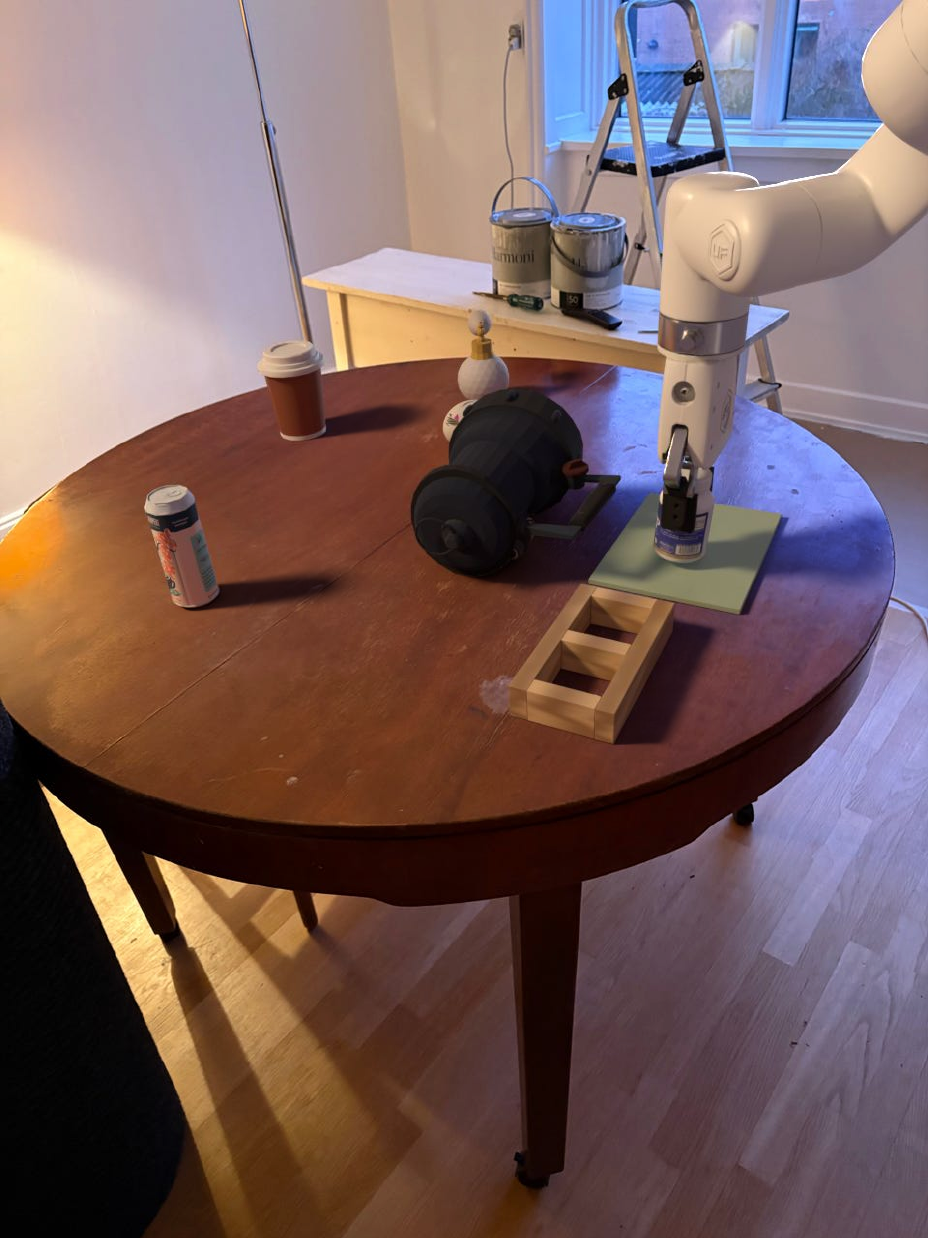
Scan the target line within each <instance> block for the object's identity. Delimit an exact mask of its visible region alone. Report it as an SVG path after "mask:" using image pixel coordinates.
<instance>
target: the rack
mask: <svg viewBox="0 0 928 1238" xmlns="http://www.w3.org/2000/svg"><path fill="white" fill-rule="evenodd" d="M675 605H676V603H675V602H673V601H668V600H663V599H658V598H654V597H649V596H644V595H639V594H635V593H630V592H625V591H620V590H615V589H610V588H606V587H601V586H596V585H591V584H585V583H580V584H579V585H578V587H577V588H576V590H575V591H574V592H573V594H572V596H571V597H570V598H569V600H568V601H567V602H566V604H565V605H564V607H563V608H562V609H561V610H560V613H558V615H557V617H556V618H555V619H554V621H553V622H552V624H551V625H550V626H549V628H548V629H547V630H546V632H545V633H544V635H543V636H542V637H541V639H540V640H539V641H538V643H537V645H536V646H535V648H534V649H533V651H532V652H531V653H530V655H529V656H528V657H527V659H526V660H525V661H524V663H523V665H522V666H521V667H520V668H519V670H518V672H517V673H516V674H515V676H514V678H512V680H511V682H510V683H509V684H508V702H509V703H508V704H509V716H511V717H514V718H518V719H522V720H525V721H528V722H532V723H537V724H539V725H543V726H547V727H550V728H554V729H558V730H561V731H564V732H568V733H570V734H571V733H572V734H575V735H579V736H581V737H582V736H583V737H586V738H590V739H593V740H594V739H595V740H596V741H600V742H604V743H607V744H610V745H614V744H615V743H616V740H617V738H618V736H619V734H620V732H621V730H622V729H623V726H624V725H625V723H626V721H627V719H628V718H629V716H630V714H631V711H632V710H633V708H634V706H635V704H636V702H637V700H638V698H639V696H640V694H641V692H642V691H643V689H644V686H645V685H646V683H647V680H648V679H649V678H650V675H651V673H652V672H653V670H654V667H655V666H656V664H657V661H658V660H659V658H660V656H661V654H662V652H663V650H664V648H665V646H666V644H667V642H668V641H669V638H671V635H672V633H673V629H674V628H673V627H674V616H675ZM590 625H596V626H601V627H606V628H609V629H613V630H619V631H623V632H626V633H632V634H635V635H636V637H635V639H634V640H633V642H632V644H631V643H626V642H623V641H622V642H621V641H617V640H613V639H609V638H606V637H605V638H604V637H600V636H596V635H592V634H588V633H586V631H587V629H588V628H589V626H590ZM561 670H565V671H570V672H574V673H578V674H582V675H585V676H589V677H592V678H597V679H602V680H605V681H609V684H608V686H607V688H606V690H605V691H604V693H603V694H602V696H600V695H597V694H593V693H589V692H586V691H583V690H577V689H574V688H569V687H566V686H562V685H559V684H555V683H553V681H555V679H556V677H557V676H558V674H559V672H560V671H561Z"/></svg>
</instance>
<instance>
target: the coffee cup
mask: <svg viewBox="0 0 928 1238" xmlns="http://www.w3.org/2000/svg"><path fill="white" fill-rule="evenodd" d="M323 366H325V355H324V354H322V353H321V352H319V351H318V350H317V349H316V347H315V344H314V343H312V342H311V341H308V340H300V339H299V340H298V339H292V340H284V341H279V342H275V343H273V344H269V345H268V346H266V347H265V348H264V349H263V350H262V357H261V359H260V360H258V362H257V366H256V369H257V372H258V373H259V374H260V375H262V376H263V377H264V380H265V383H266V388H267V391H268V394H269V398H270V401H271V404H272V405H271V406H272V408H273V412H274V415H275V418H276V423H277V426H278V429H279V433H280V437H282V439H284V440H287V441H293V442H301V441H309V440H312V439H316V438H318V437H320V436H322V435H323V434H324V433H325V432H326V431H327V427H326V418H325V406H324V405H325V404H324V395H323V394H324V393H323V392H324V391H323V380H322V379H323V378H322V369H321V368H323Z"/></svg>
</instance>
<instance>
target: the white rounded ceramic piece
mask: <svg viewBox="0 0 928 1238" xmlns="http://www.w3.org/2000/svg"><path fill="white" fill-rule="evenodd" d="M476 401H477V400H468V399H467V400H464V401H461V402H459V403H458V404H456V405H454V406H453V407H452V408H451V409H450V410H449V411H448V412H447V414H446V415H445V417H444V420H443V423H442V432H443V436H444V437H445V439H446V440H447V441H448V442H450V439H451V436H452V433H453V430H454V429H455V428H456V426H457V425H458V424H459V422H460V421H461V420H462V418H463V417H464V416H463V411H464V410H465V408H466V407H467V406H468V405H473V403H475V402H476Z"/></svg>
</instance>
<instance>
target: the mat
mask: <svg viewBox="0 0 928 1238" xmlns="http://www.w3.org/2000/svg"><path fill="white" fill-rule="evenodd" d="M660 495H661V493H660V494H659V493H654V492H648V494H647V495H646V496H645V498H644V499H643V500H642V502H641V504H640V505H639V507H637V509H636V511H635V512H634V514H633V515H632V516H631V517H630V519H629V521H628V522H627V523H626V525H625V527H624V528H623V529H622V531H621V532H620V533H619V535H618V536H617V538H616V539H615V540H614V542H613V544H612V545H611V546H610V548H609V549H608V551H607V552H606V554H605V555H604V557H603V558H602V559H601V560H600V562H599V563H598V565H597V566H596V568H595V569H594V570H593V572H592V574H591V575H589V578H588V585H592V586H596V587H601V588H606V589H611V590H616V591H621V592H625V593H630V594H635V595H640V596H645V597H650V598H655V599H659V600H664V601H669V602H674V603H675V602H676V603H680V604H685V605H690V606H694V607H699V608H705V609H710V610H714V611H719V612H723V613H729V614H734V615H739V616H740V615H741V613H742V611H743V608H744V606H745V604H746V601H747V599H748V596H749V594H750V592H751V590H752V587H753V585H754V583H755V580H756V579H757V576H758V573H759V572H760V570H761V567H762V565H763V563H764V560H765V557H766V555H767V553H768V551H769V548H770V546H771V544H772V541H773V539H774V537H775V535H776V532H777V530H778V528H779V526H780V523H781V521H782V519H783V514H782V513H780V512H775V511H774V512H773V511H768V510H761V509H754V508H750V507H749V508H748V507H742V506H735V505H728V504H724V503H716V502H714V509H713V514H712V520H711V525H710V530H709V536H708V542H707V547H706V552H705V554H704V556H703V557H702V558H700V559H699V560H697V561H694V562H689V563H677V562H672V561H669V560H666V559H664V558H662V557H660V556H659V555H658V554H657V553H656V552H655V550H654V547H653V543H654V536H655V529H656V522H657V514H658V507H659V500H660Z"/></svg>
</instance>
